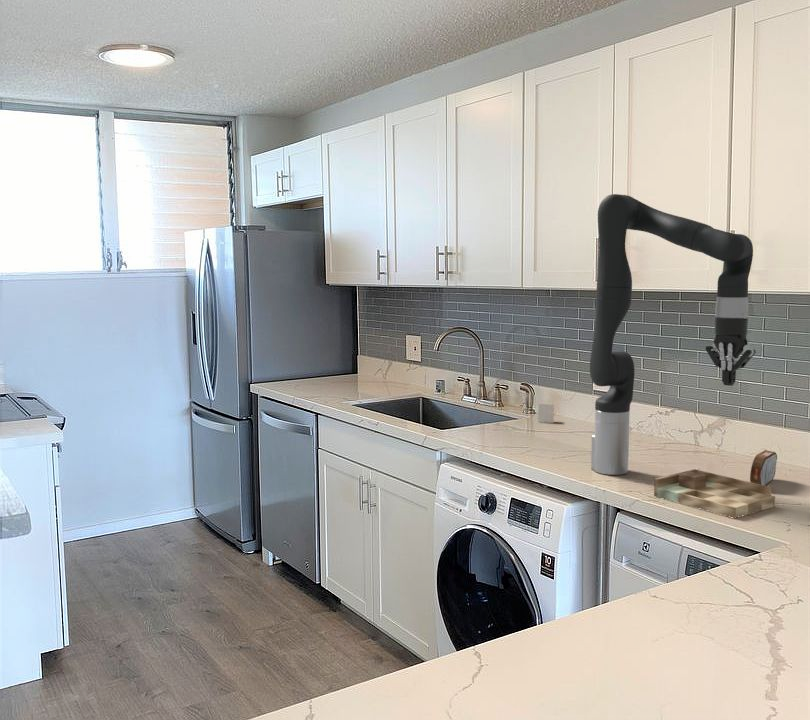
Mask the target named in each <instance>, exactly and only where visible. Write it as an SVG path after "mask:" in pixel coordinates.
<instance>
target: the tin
mask: <svg viewBox="0 0 810 720" xmlns="http://www.w3.org/2000/svg"><path fill="white" fill-rule="evenodd" d="M777 460H778V454H777V452H775V451H772V450H771V451H770V450H767V449H764V450H763V451H761V452H759V453H758V454H756V455H755V456H754V459H753V460H752V464H751V468H750V474H749V482H752V483H756V484H760V485H764V486H767V485H769V484H771V483H772V481H773V479H774V477H775V476H776V475H775V474H776V468H777Z"/></svg>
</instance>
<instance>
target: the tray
mask: <svg viewBox="0 0 810 720" xmlns="http://www.w3.org/2000/svg"><path fill="white" fill-rule="evenodd" d="M690 471H691V472H695V473H700V474H705V475H706V487H703V488H699V489H695V490H694V489H690V488H685V487H681V486H679V474H682V473H686V472H690ZM653 486H654V488H653V489H654V490H653V497H654V496H656V497H655V498H658V497H660V498H659V499H661V498H664V499H663V500H665V499H667V500H666V501H669V500H671V501H670V502H672V501H675V502H674V503H676V502H679V503H682V504H681V505H683V504H685V505H684V506H686V505H690V506H693V507H692V508H694V507H697V508H701V509H704V510H709V511H712V512H715V513H718V514H717V515H719V514H722V515H726V516H730V517H733V518H735V517H738V516H742V515H745V516H747V515H746V514H748V515H750V514H749V513H752V514H754V513H753V512H755V513H758V512H760V511H761V510H762V511H764V510H769V509H771V508H774V507H775V502H776V497H775V495H772V487H771V486H769V485H768V486H767V485H766V486H764V485H760V484H756V483H752V482H750V481H747V480H743V479H738V478H734V477H729V476H727V475H726V476H725V475H721V474H718V473H712V472H708V471H704V470H700V469H696V468H695V469H690V470H687V471H681V472H678V473H677V472H676V473H673V474H669V475H663V476H660V477H655V478H654V484H653ZM679 503H678V504H679ZM690 506H689V507H690ZM697 508H696V509H697ZM701 509H700V510H701ZM704 510H703V511H704ZM715 513H714V514H715ZM722 515H721V516H722ZM726 516H725V517H726ZM742 517H743V516H742ZM733 518H732V519H733ZM738 518H739V517H738ZM735 519H736V518H735Z"/></svg>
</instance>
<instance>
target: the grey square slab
mask: <svg viewBox="0 0 810 720" xmlns="http://www.w3.org/2000/svg"><path fill="white" fill-rule="evenodd" d="M554 407H555V404H554V403H538V407H537V408H538V411H537V423H543V424H554V422H555V421H554V416H558V415H559V413H558V412H555V411H554V410H555V408H554Z"/></svg>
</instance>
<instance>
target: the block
mask: <svg viewBox="0 0 810 720" xmlns="http://www.w3.org/2000/svg"><path fill="white" fill-rule="evenodd" d="M689 471H690V470H689ZM679 486H681V487H685V488H690V489H694V490H695V489H699V488H703V487H706V475H705V474H700V473H695V472H691V471H690V472H686V473H682V474H679Z"/></svg>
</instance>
